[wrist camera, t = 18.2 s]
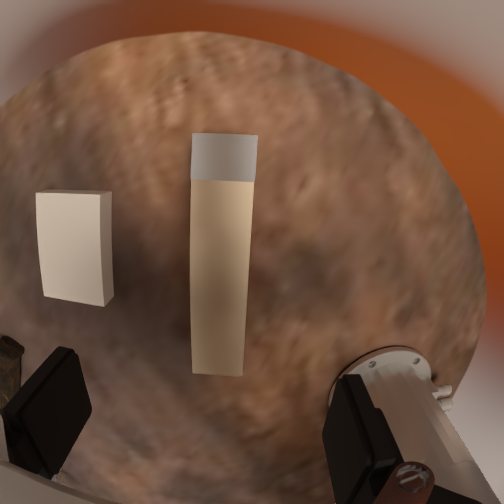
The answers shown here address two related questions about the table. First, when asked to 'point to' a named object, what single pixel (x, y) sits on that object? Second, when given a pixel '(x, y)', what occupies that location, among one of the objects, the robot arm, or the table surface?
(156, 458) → the table surface
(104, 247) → the white and teal block
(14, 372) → the hand tool
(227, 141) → the grey-capped beige stick
